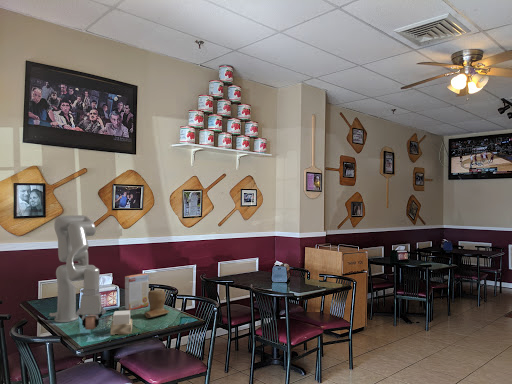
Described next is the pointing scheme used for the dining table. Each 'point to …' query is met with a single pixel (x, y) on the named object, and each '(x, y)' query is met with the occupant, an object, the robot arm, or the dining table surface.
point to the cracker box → (136, 291)
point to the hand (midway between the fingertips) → (90, 326)
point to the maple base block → (121, 328)
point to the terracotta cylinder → (90, 322)
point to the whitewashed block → (121, 317)
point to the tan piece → (156, 303)
